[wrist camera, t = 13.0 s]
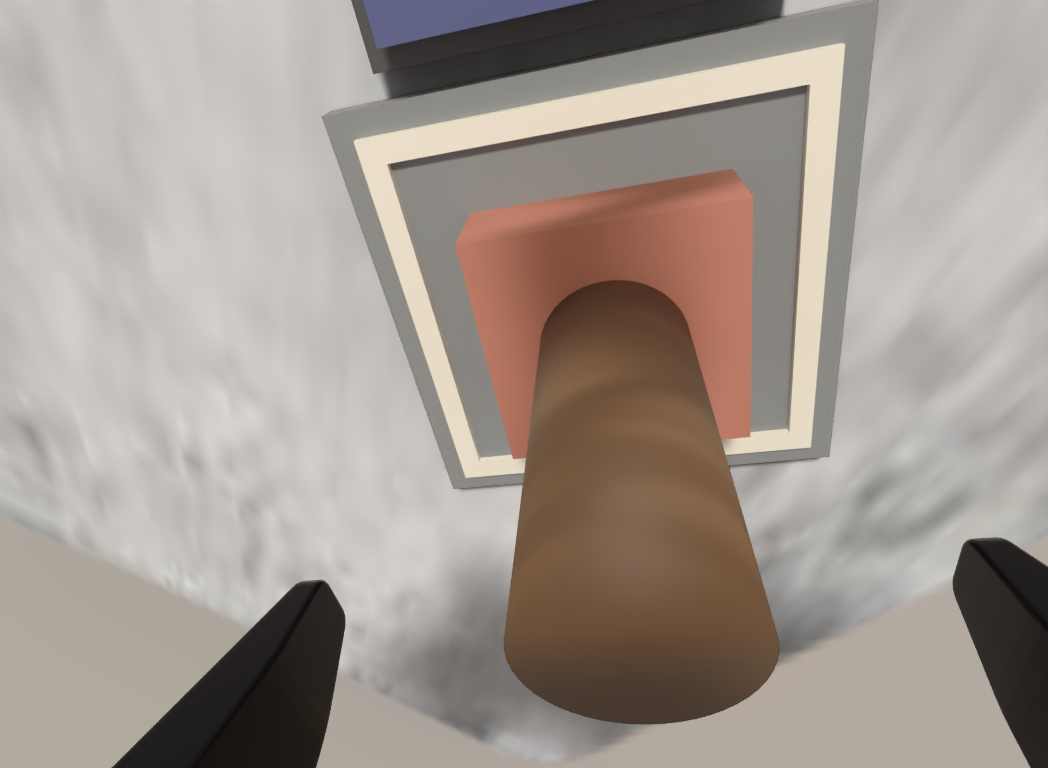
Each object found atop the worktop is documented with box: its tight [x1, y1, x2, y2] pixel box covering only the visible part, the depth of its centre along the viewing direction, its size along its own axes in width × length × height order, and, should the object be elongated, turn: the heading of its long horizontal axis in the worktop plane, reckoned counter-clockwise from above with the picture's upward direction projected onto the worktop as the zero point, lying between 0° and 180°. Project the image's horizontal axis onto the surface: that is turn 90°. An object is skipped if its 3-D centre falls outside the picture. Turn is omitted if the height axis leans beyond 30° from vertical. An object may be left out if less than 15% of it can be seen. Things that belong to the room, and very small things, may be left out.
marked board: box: [322, 0, 879, 489], centre depth 16 cm, size 11×11×1 cm
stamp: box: [455, 169, 779, 724], centre depth 12 cm, size 6×6×10 cm
